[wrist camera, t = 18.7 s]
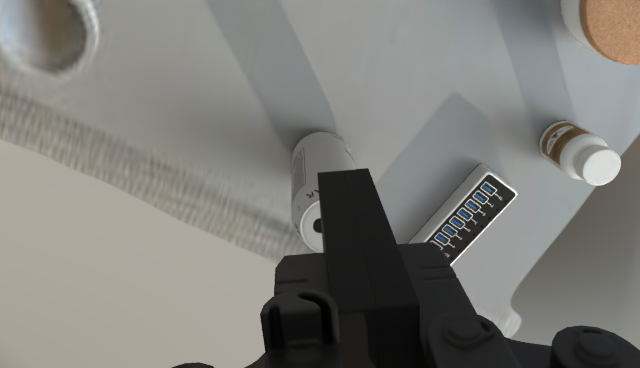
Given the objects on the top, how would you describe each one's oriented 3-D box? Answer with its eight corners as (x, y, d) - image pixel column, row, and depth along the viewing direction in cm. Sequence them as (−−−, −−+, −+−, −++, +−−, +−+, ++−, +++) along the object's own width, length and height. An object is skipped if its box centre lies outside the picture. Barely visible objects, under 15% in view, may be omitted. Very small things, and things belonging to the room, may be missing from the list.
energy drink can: (347, 186, 52) (367, 264, 39) (289, 182, 52) (288, 259, 38) (354, 131, 50) (378, 192, 36) (294, 126, 50) (294, 186, 36)
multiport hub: (510, 185, 53) (519, 194, 51) (420, 280, 57) (425, 292, 55) (480, 162, 52) (488, 170, 50) (391, 261, 56) (395, 272, 54)
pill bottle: (557, 112, 50) (600, 135, 43) (589, 133, 51) (637, 159, 44) (529, 148, 52) (566, 176, 45) (560, 168, 53) (602, 199, 46)
